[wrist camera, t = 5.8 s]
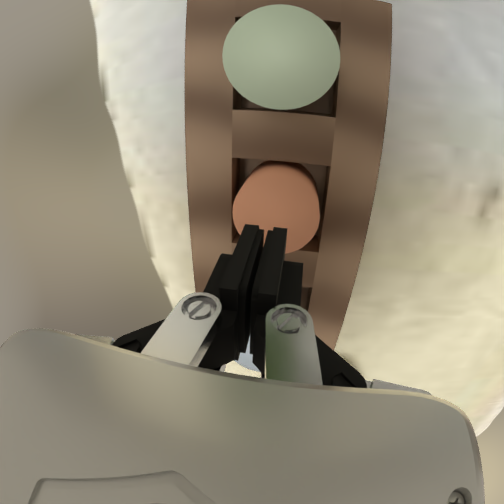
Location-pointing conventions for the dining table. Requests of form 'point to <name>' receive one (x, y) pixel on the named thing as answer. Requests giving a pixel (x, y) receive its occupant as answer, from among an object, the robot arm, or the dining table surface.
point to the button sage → (281, 57)
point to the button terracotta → (279, 202)
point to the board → (289, 145)
